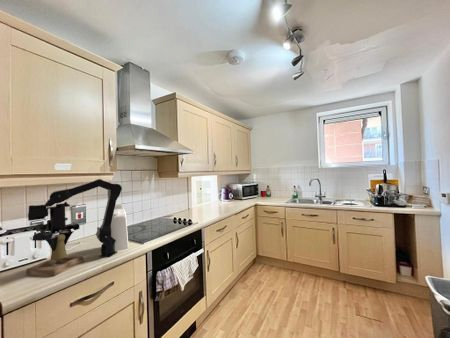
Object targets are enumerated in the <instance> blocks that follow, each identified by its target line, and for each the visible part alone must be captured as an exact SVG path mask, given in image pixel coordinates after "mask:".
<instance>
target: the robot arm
mask: <svg viewBox="0 0 450 338" xmlns="http://www.w3.org/2000/svg"><path fill="white" fill-rule="evenodd" d="M99 187H100V188H101V189H104V190H107V202H106V207H105V210H104V215H103V219H102V224H101V225H100V227H99V226H97V227H96V233H95V236H96V239H97V240H98V241H99V242H100V243H101V248H100V254H99V256H98V257H100V258H101V257H104V258H105V257H106V258H107V257H108V258H109V257H112V256H114V255H115V254H116V253H118V250H115V241H116V240H115V239H114V238H113V237H112V236H111V222H112V218H113V213H114V209H115V204H116V203H117V200H118V198H119V196H120V195H121V193H122V190H123V187H122V185H121V184H119V183H111V182H109V181H106V180H103V179H101V178H98V179H95V180H92V181H90V182H87V183H83V184H80V185H77V186H75V187H70V188H65V189H59V190H54V191H52V192H51V193H50V195H49V198H48V200H47V201H45V203H44V204H38V205H37V204H36V205H33V204H32V205H28V213H27V219H28V222H29V221H31V222H32V221H38V220H44V219H46V218H47V217H48V216H49V219H47V221H46V222H47V223H45V224H43V223H38V224H36V225H35V231H36V233H34V234H33V235H32V241H33V242H34V241H36V242H37V241H38V242H39V241H40V242H41V241H46V242H47V244H48V246H49V247H50V249H51V252H52V251H55V249H56V246H57V240H58V237H55V235H58V234H64V235H65V240H64V244H65V246H66V244H68V241H69V239H70V238H71V236H72V235H73V233H74V232H75V231H77V230H80V224H79V223H68V224H66V221H68V220H69V218H68V217H66V208H68V207H70V206H71V205H70V203H68V202H67V200H69V199H70V198H72V197H75V196H77V195H79V194H81V193H84V192H88V191H90V190H94V189H96V188H99ZM73 230H74V231H73Z"/></svg>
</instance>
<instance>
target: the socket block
mask: <svg viewBox="0 0 450 338" xmlns="http://www.w3.org/2000/svg"><path fill="white" fill-rule="evenodd" d="M82 262H84V255H67V256H66V257H65V258H62V259H59V260H51V258H49V259H47V260H44V261H42V262H40V263H38V264H35V265H33V266H31V267H29V268H26V269H25V275H26V276H42V277H43V276H44V277H56V276H58V275H59V274H61V273H64V272H65V271H68V270H69V269H71V268H73V267H75V266H77V265H79V264H81V263H82ZM59 263H62V264H60V265H57V266H56V267H52V266H54V265H56V264H59Z"/></svg>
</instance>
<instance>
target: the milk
mask: <svg viewBox="0 0 450 338" xmlns="http://www.w3.org/2000/svg"><path fill="white" fill-rule="evenodd" d="M128 234H129V233H128V221H127V213H126V210H125V208H124V206H123V204H122V203H118V204H115V209H114V213H113V218H112V222H111V236H112V237H113V238H114V239H115V240H116V241H115V251H118V250H125V249H129V238H128V236H129V235H128Z"/></svg>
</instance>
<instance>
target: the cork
mask: <svg viewBox="0 0 450 338" xmlns="http://www.w3.org/2000/svg"><path fill="white" fill-rule="evenodd" d="M55 237H58V240H57V246H56V249H55V251H52V250H51V253H50V259H51V260H59V259H62V258H65V257H66V256H68V254H67V249H66V245H65V244H64V240H65V235H64V234H59V233H58V234H55Z"/></svg>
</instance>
